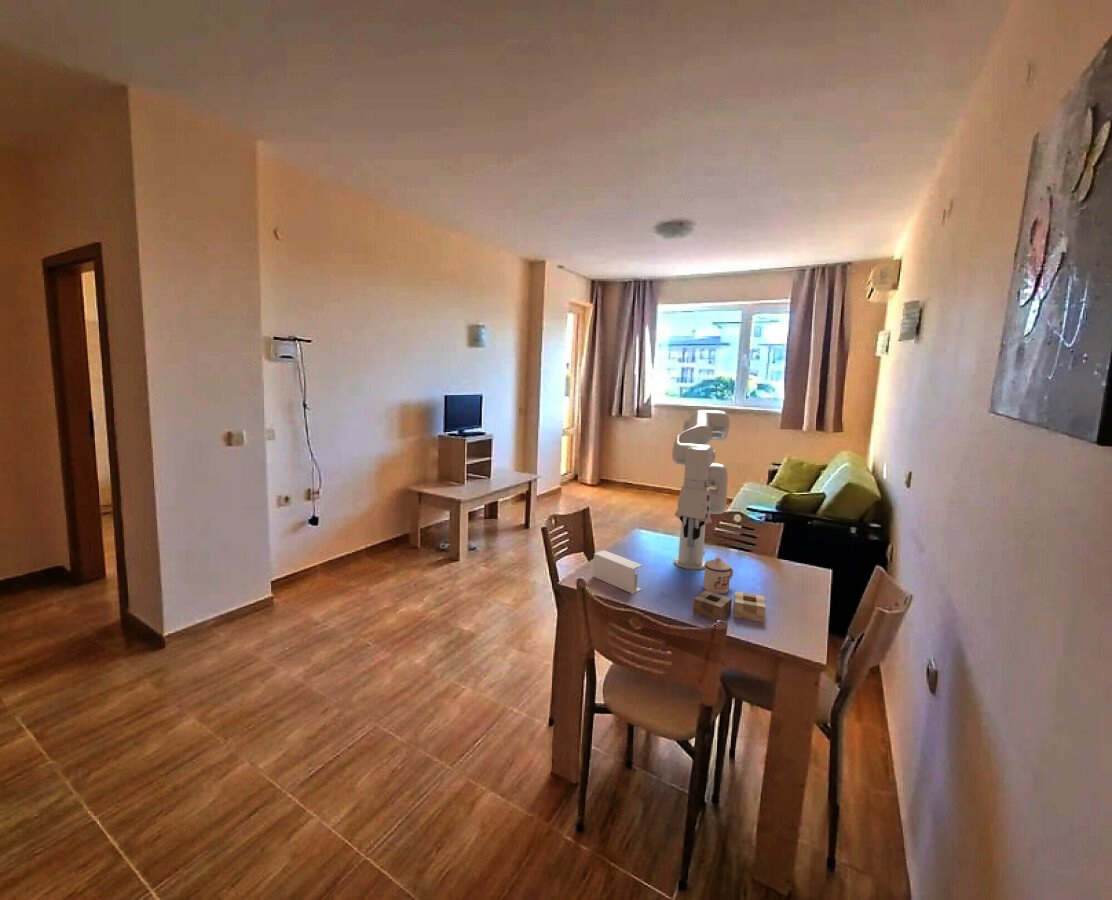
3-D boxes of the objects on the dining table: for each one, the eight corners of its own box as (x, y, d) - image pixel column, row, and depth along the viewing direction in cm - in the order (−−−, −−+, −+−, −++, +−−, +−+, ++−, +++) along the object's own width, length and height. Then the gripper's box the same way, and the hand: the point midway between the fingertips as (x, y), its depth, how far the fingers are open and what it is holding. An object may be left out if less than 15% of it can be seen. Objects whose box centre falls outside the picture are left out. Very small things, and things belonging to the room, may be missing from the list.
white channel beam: (641, 590, 181) (643, 565, 180) (631, 594, 178) (633, 568, 176) (600, 573, 196) (601, 549, 195) (590, 576, 192) (591, 552, 191)
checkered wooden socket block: (733, 605, 172) (735, 591, 171) (762, 610, 169) (764, 595, 168) (733, 617, 163) (735, 602, 162) (764, 622, 160) (765, 607, 160)
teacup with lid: (715, 596, 179) (718, 564, 177) (697, 586, 187) (699, 555, 185) (740, 590, 184) (743, 559, 182) (722, 581, 192) (724, 551, 190)
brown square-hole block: (704, 604, 172) (705, 590, 171) (730, 612, 166) (732, 598, 165) (692, 613, 165) (693, 598, 164) (720, 622, 159) (721, 607, 158)
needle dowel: (688, 544, 175) (691, 510, 174) (695, 546, 174) (698, 511, 172) (685, 546, 173) (687, 511, 172) (692, 548, 172) (695, 513, 170)
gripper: (723, 486, 168) (718, 540, 171) (678, 479, 179) (674, 530, 181) (713, 489, 163) (709, 545, 165) (668, 481, 173) (664, 534, 175)
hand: (691, 537), depth 173 cm, fingers closed on needle dowel, 2 cm apart
